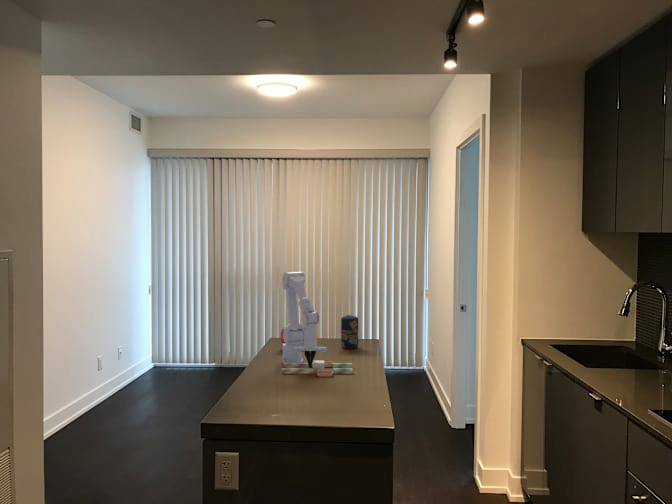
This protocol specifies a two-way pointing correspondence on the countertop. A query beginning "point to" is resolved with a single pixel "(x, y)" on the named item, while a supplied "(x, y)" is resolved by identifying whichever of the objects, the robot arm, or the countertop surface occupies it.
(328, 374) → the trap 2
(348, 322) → the canister
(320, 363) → the block
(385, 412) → the countertop surface
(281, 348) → the soda can
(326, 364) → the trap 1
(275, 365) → the countertop surface
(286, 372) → the track
